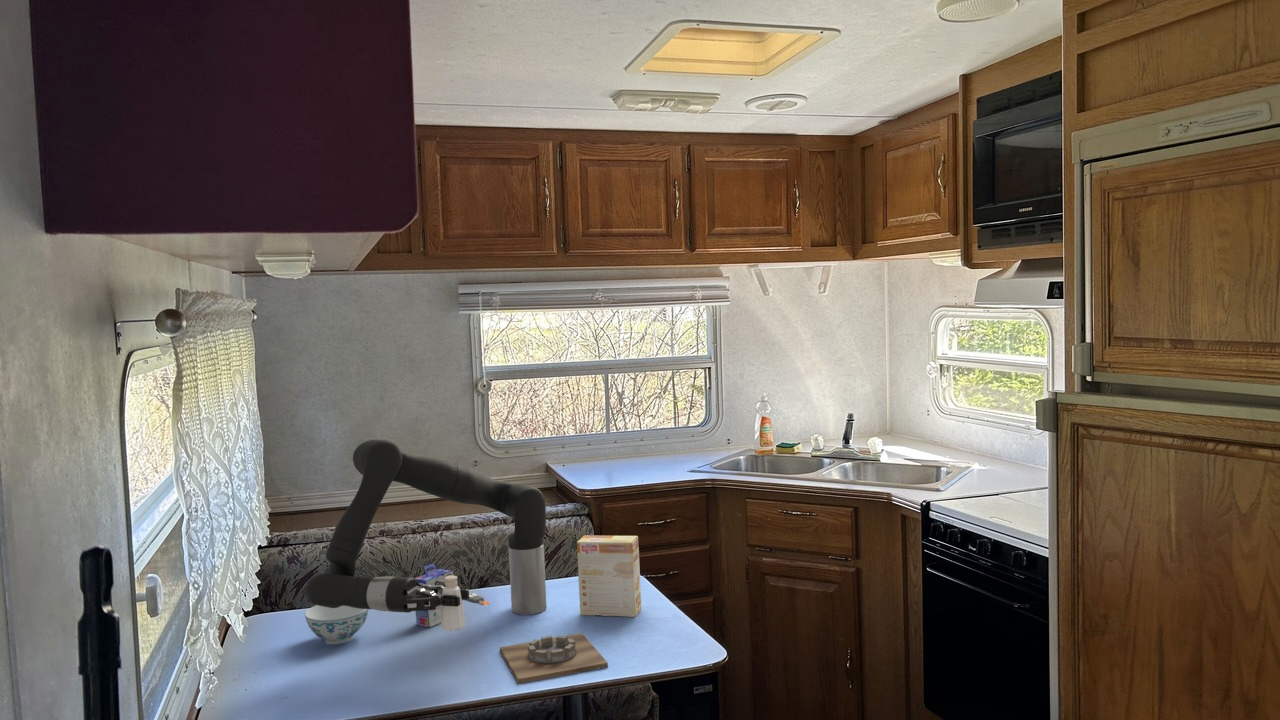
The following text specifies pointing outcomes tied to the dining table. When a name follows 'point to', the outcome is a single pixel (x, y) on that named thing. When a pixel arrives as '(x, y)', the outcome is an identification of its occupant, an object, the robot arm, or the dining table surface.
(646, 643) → the dining table surface
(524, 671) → the collar board
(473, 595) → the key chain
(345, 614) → the chinaware
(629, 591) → the coffeecake box
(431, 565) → the ink cartridge box
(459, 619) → the pepper shaker
